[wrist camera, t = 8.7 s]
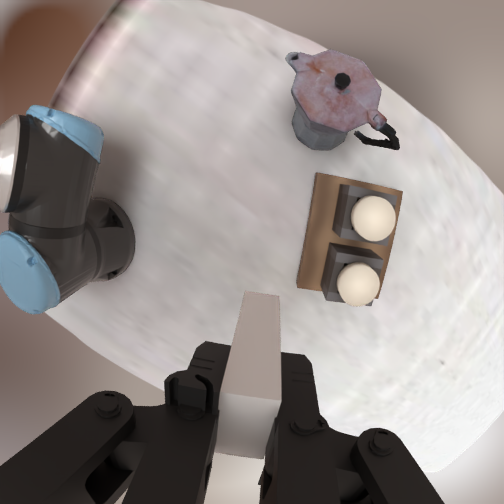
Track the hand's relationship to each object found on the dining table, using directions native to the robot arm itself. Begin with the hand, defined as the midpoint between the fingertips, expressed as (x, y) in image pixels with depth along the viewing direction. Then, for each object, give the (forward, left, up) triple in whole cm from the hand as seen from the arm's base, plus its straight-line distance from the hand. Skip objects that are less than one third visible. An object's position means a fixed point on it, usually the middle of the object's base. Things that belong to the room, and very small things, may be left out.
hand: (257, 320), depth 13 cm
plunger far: (+13, -6, -31) cm, 34 cm away
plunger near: (+13, +3, -31) cm, 34 cm away
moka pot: (+6, +16, -35) cm, 38 cm away
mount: (+13, -1, -34) cm, 37 cm away
